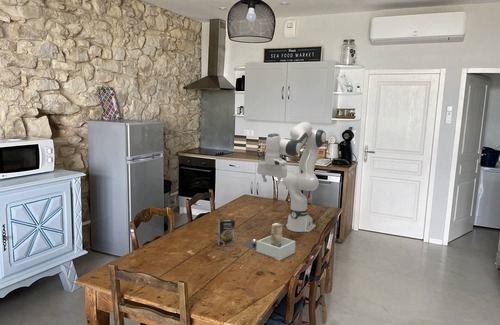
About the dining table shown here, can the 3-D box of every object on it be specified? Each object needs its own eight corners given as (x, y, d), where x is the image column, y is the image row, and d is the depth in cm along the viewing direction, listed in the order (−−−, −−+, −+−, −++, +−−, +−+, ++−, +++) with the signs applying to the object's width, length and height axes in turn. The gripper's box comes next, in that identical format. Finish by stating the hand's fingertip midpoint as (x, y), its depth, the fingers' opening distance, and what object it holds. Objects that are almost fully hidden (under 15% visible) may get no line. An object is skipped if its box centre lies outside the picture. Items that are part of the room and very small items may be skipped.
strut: (270, 251, 215) (271, 224, 213) (275, 249, 219) (276, 222, 216) (276, 253, 213) (278, 226, 210) (281, 251, 216) (282, 224, 213)
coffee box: (219, 248, 220) (220, 221, 217) (217, 244, 226) (217, 218, 223) (234, 247, 222) (235, 220, 220) (232, 243, 228) (232, 217, 226)
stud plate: (252, 241, 233) (253, 234, 232) (268, 246, 225) (268, 238, 225) (240, 246, 223) (240, 238, 223) (255, 251, 216) (256, 244, 215)
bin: (272, 245, 227) (273, 234, 226) (294, 252, 217) (295, 241, 216) (256, 252, 215) (256, 241, 214) (279, 260, 205) (279, 248, 204)
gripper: (255, 159, 230) (254, 181, 232) (283, 163, 217) (281, 186, 220) (261, 158, 235) (260, 179, 237) (289, 162, 222) (287, 185, 224)
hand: (271, 183), depth 228 cm, fingers open, 8 cm apart
